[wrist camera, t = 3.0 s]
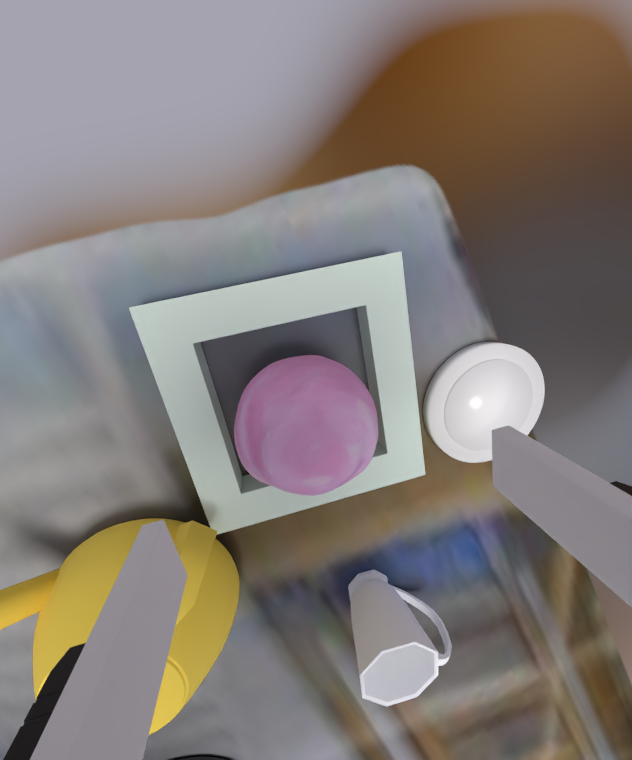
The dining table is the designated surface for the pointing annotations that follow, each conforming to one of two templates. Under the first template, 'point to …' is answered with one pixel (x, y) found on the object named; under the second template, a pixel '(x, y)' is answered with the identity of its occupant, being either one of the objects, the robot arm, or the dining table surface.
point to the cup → (392, 640)
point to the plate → (482, 398)
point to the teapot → (93, 585)
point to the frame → (268, 308)
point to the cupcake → (305, 425)
